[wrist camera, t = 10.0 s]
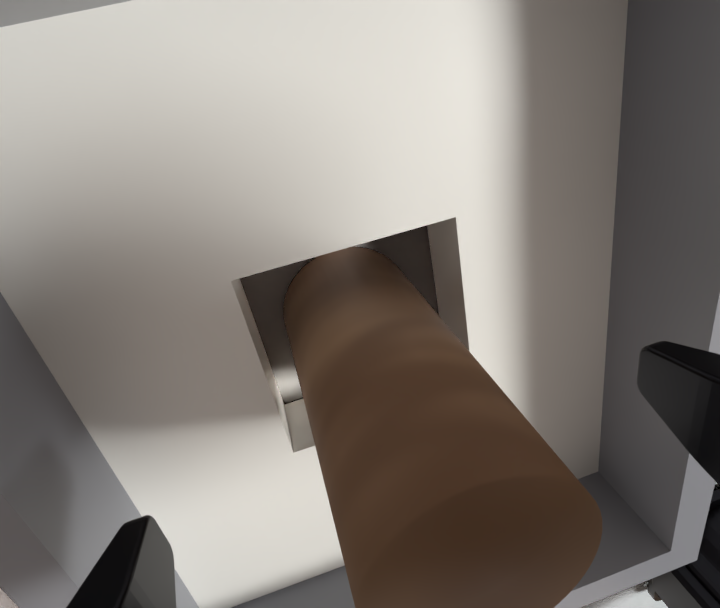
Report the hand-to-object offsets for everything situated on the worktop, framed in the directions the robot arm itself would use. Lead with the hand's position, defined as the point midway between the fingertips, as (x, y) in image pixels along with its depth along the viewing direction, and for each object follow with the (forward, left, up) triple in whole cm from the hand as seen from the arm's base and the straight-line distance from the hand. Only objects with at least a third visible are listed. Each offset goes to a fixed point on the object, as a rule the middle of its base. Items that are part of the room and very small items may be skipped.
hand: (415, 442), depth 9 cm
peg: (0, 0, -6) cm, 6 cm away
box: (0, 0, -6) cm, 6 cm away
